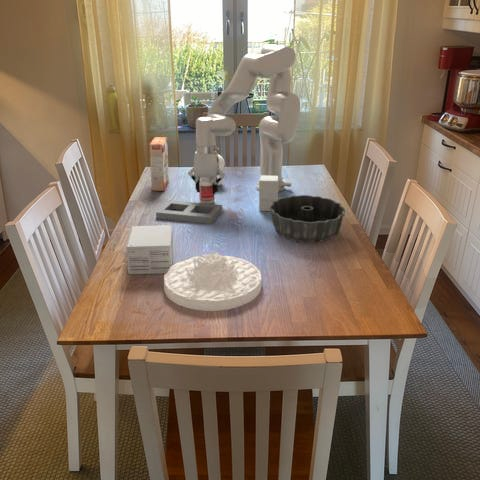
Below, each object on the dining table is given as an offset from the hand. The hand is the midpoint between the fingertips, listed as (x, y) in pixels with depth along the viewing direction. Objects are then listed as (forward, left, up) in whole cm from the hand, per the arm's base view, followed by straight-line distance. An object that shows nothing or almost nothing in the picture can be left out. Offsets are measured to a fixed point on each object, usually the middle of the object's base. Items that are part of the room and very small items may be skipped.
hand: (206, 191), depth 216 cm
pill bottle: (0, 0, -5) cm, 5 cm away
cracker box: (+26, -14, -5) cm, 30 cm away
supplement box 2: (-26, +1, -5) cm, 26 cm away
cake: (-23, +68, -5) cm, 72 cm away
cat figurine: (+5, -22, -5) cm, 23 cm away
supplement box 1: (0, +58, -5) cm, 58 cm away
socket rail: (+2, +16, -4) cm, 17 cm away
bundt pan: (-44, +23, -5) cm, 50 cm away
